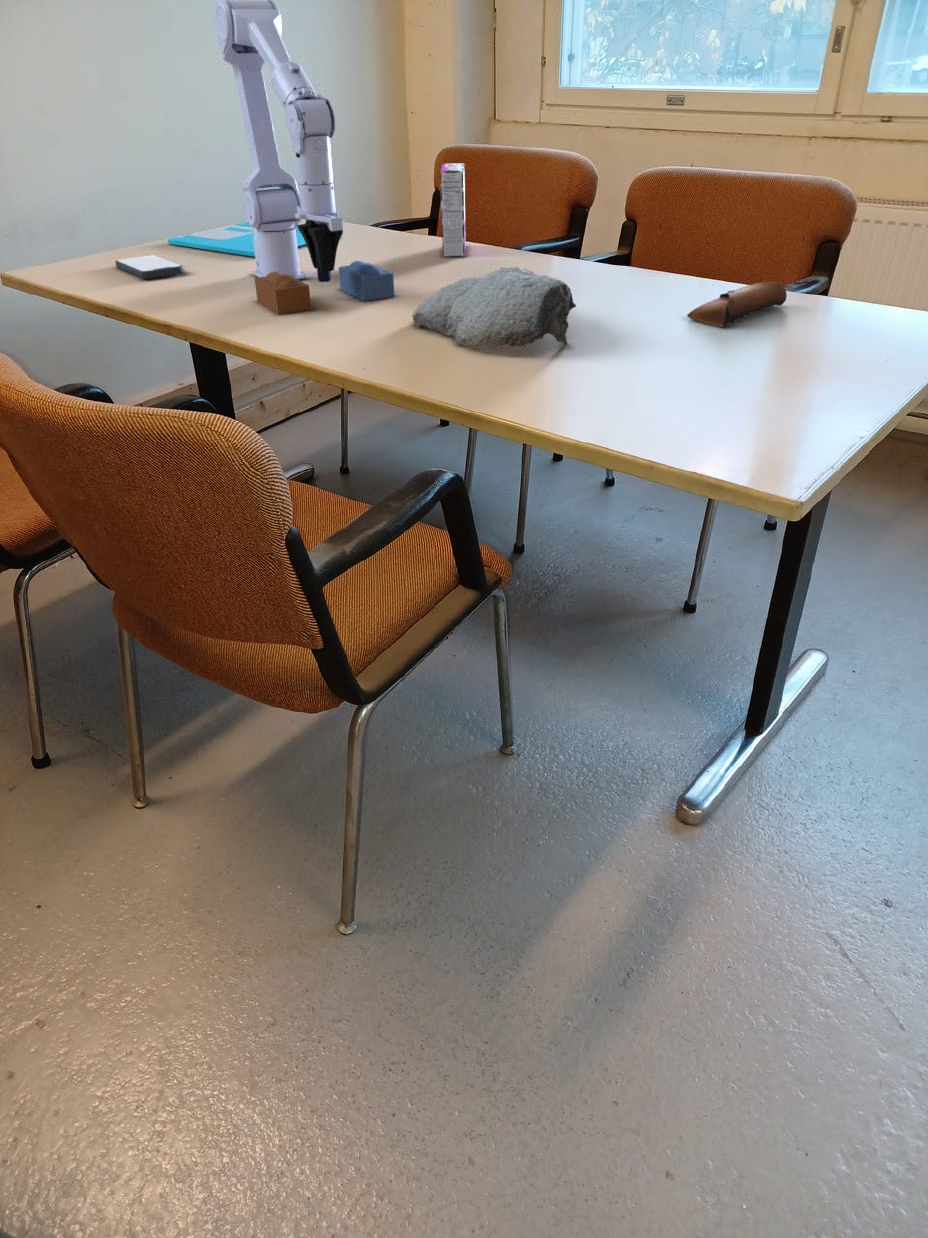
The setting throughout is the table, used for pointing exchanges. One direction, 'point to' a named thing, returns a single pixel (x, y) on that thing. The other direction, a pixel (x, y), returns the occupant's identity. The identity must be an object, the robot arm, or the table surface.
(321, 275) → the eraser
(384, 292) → the blue rectangular block
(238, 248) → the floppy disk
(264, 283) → the brown lumpy block
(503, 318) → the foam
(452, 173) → the candy bar box
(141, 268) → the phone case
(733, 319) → the sunglasses case
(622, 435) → the table surface
